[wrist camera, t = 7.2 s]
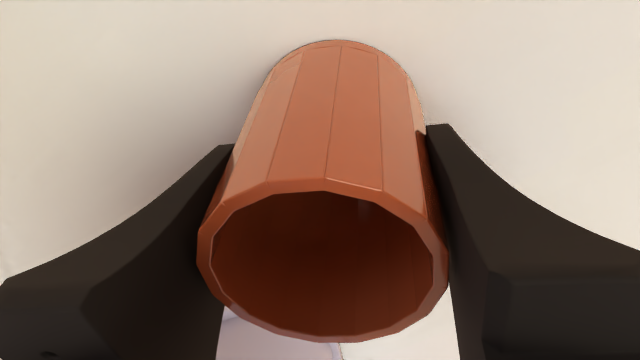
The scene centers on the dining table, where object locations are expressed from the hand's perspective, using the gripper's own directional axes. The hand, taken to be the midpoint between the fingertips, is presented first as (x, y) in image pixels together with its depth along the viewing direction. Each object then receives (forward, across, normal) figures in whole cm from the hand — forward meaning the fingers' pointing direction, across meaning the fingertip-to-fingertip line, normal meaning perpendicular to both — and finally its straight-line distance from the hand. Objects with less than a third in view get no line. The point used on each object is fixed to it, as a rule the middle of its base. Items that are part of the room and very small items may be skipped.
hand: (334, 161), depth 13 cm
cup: (+3, 0, 0) cm, 3 cm away
